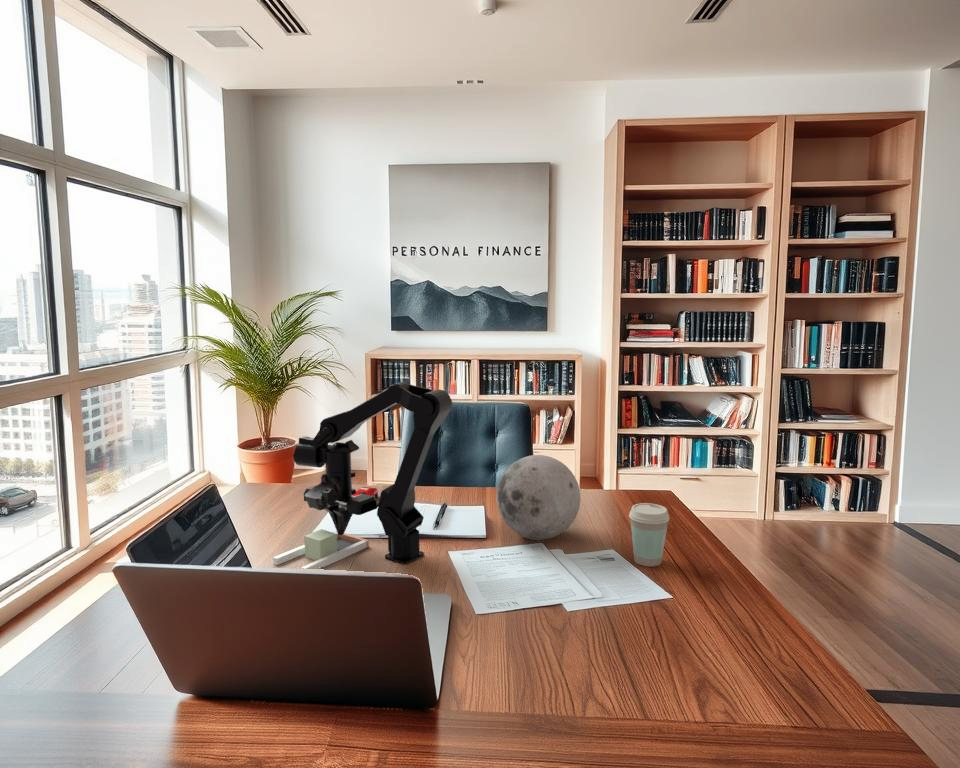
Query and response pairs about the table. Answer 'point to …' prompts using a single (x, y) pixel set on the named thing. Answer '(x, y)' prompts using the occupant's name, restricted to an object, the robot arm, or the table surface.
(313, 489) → the robot arm
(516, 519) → the moon model
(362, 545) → the channel
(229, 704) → the table surface
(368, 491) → the race car
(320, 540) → the block
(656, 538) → the coffee cup
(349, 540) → the grey and orange drawer
